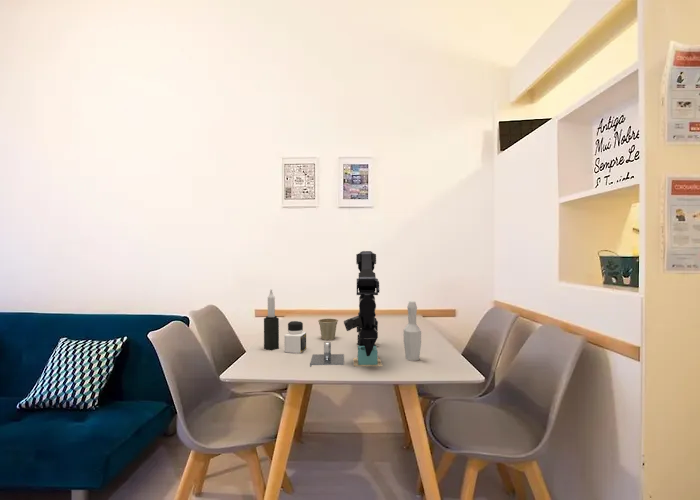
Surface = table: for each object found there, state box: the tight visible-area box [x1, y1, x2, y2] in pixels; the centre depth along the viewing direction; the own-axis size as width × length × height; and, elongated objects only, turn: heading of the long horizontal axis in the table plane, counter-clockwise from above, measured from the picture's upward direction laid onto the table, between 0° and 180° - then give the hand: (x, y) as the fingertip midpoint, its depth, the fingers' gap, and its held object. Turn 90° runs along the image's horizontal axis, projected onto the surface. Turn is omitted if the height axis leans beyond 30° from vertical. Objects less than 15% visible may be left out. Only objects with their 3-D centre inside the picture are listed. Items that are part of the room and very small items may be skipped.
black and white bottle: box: [263, 288, 280, 351], centre depth 161 cm, size 5×5×25 cm
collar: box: [357, 345, 379, 365], centre depth 139 cm, size 7×7×5 cm
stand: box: [352, 357, 383, 367], centre depth 139 cm, size 10×10×5 cm
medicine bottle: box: [283, 320, 307, 354], centre depth 157 cm, size 7×7×12 cm
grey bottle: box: [403, 300, 422, 362], centre depth 143 cm, size 6×6×22 cm
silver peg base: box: [309, 341, 345, 367], centre depth 142 cm, size 12×12×7 cm
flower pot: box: [317, 318, 339, 341], centre depth 178 cm, size 9×9×9 cm
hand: (367, 352), depth 139 cm, fingers open, 9 cm apart
